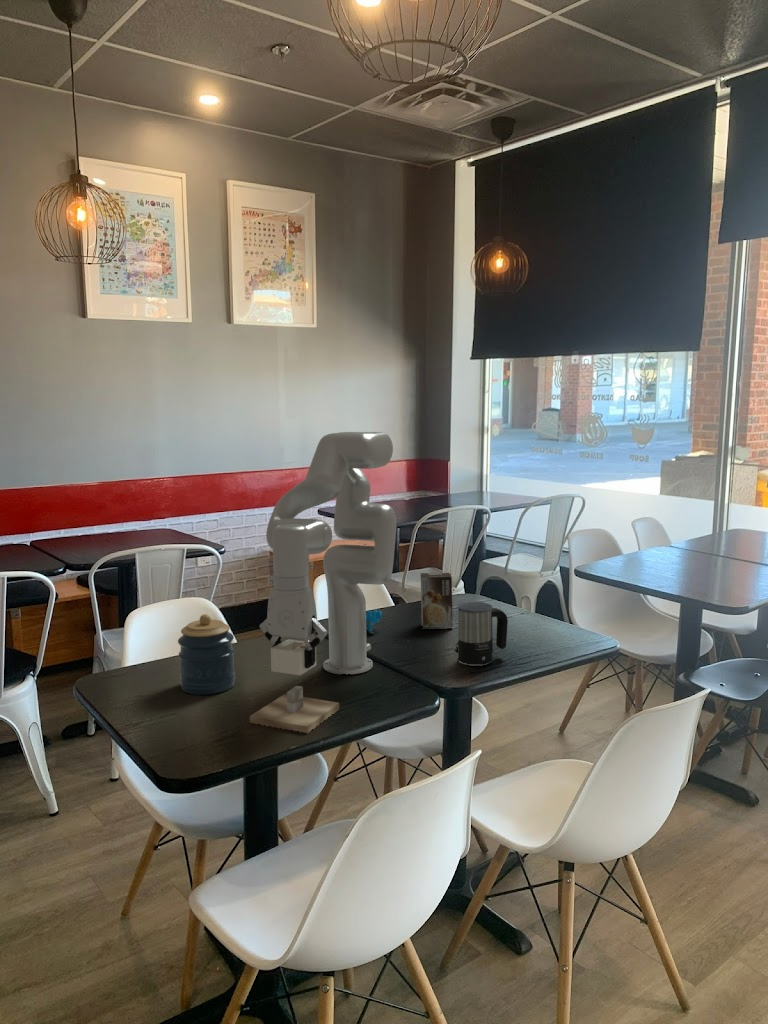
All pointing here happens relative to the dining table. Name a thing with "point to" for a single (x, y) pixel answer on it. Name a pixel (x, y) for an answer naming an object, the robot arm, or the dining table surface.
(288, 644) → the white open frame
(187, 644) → the canister
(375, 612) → the blue green toy
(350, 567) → the robot arm
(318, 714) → the base
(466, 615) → the milk frother
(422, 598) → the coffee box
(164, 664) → the dining table surface
